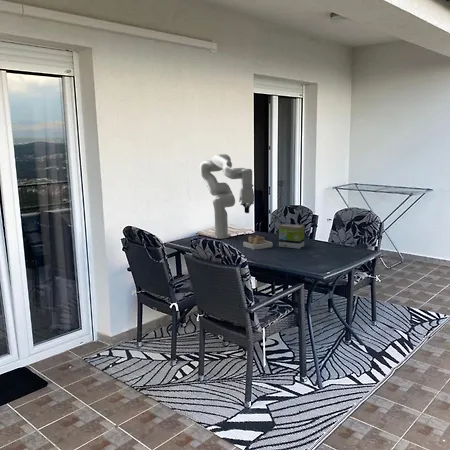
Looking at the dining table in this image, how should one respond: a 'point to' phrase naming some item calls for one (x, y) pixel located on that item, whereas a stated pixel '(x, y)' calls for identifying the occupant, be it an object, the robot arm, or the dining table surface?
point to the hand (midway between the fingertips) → (246, 212)
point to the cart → (256, 240)
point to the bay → (258, 245)
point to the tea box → (291, 236)
